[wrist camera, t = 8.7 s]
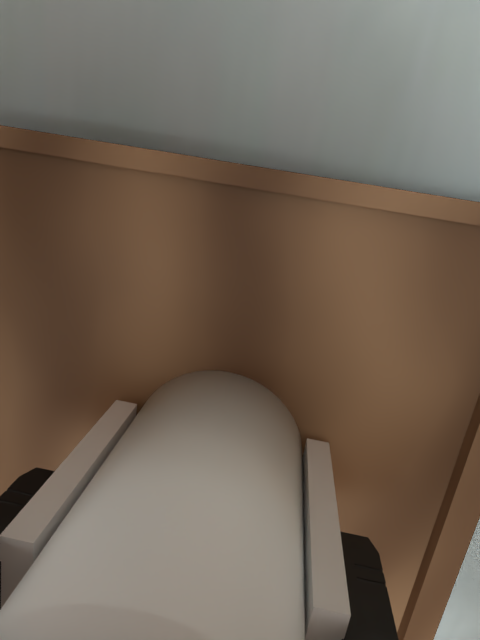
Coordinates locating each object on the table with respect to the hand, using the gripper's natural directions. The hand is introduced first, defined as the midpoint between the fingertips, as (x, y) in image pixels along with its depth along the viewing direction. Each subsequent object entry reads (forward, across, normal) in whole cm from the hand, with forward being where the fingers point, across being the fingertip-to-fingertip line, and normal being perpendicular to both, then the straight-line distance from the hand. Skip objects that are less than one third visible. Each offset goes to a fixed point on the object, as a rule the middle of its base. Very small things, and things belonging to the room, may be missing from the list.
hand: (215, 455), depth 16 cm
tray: (+2, -1, 0) cm, 2 cm away
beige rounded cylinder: (0, 0, 0) cm, 0 cm away
